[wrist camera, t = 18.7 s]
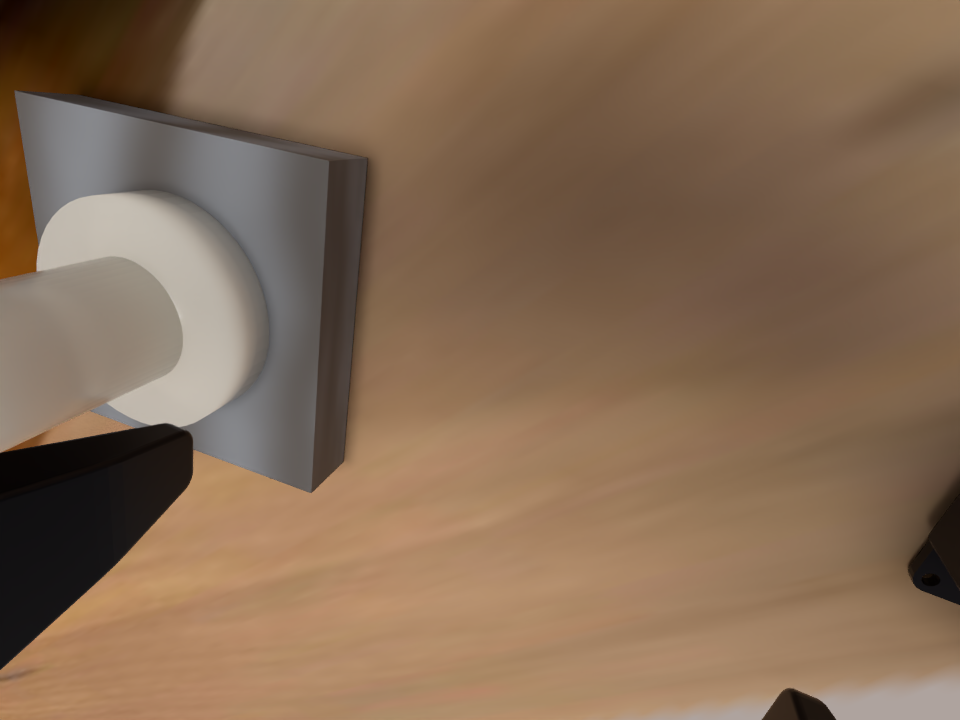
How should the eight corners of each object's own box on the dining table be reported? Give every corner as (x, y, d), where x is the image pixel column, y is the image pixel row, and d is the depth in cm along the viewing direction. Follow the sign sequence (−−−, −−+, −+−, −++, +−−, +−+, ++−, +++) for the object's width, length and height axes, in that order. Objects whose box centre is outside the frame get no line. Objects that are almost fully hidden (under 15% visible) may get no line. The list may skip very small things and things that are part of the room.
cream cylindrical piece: (307, 303, 20) (-153, 512, 9) (213, 443, 24) (-185, 708, 13) (128, 137, 20) (-562, 142, 9) (63, 305, 24) (-469, 453, 13)
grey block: (367, 157, 20) (329, 160, 18) (343, 461, 25) (311, 493, 23) (78, 94, 23) (14, 90, 21) (111, 380, 28) (63, 400, 26)
